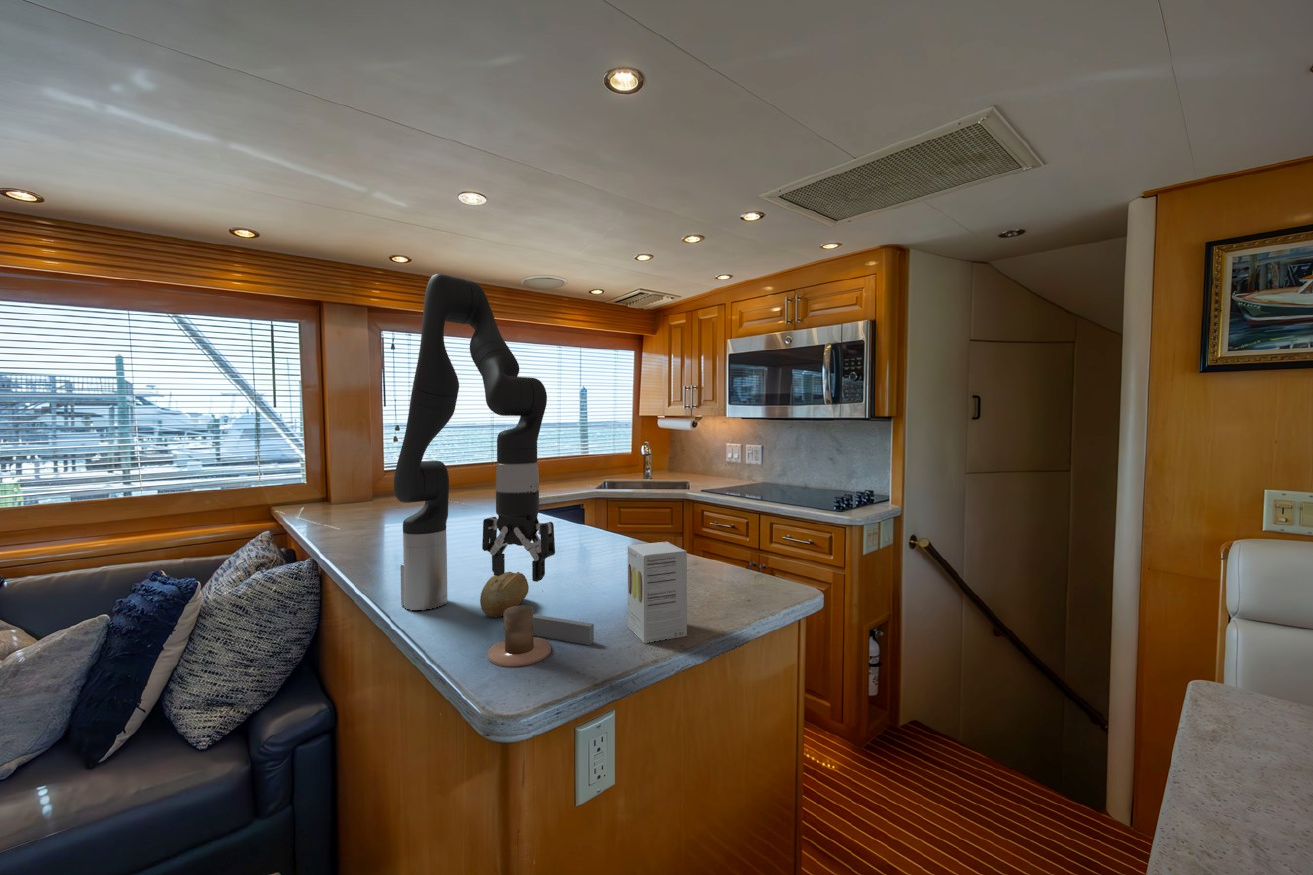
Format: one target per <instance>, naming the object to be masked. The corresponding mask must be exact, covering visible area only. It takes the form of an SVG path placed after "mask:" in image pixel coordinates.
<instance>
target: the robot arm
mask: <svg viewBox="0 0 1313 875" xmlns="http://www.w3.org/2000/svg"><path fill="white" fill-rule="evenodd" d="M446 322H448V323H455V324H461V325H468V326H470V327H472V328H473V330H474V332H473V334H472V336H471V339H470V341H469V353H470V357H471V359H472V362H473V363H474V365H475V367H476V368H477V370H478V372H479V373H480V375H481V378H482V383H483V386H484V395H485V396H484V397H485V403H486V405H487V407H488V408H489V410H490V411H491V412H492V413H494V414H496V415H497V416H498V415H499V416H502V417H504V416H505V417H519V421H518V422H517V424H516V426H515V427H512V428H508V429H504V430H502V431H500V432H499V433H498V434H497V438H496V471H495V514H496V515H497V516H498V518H497V517H496V516H492V517H488V518H484V519H483V521H482V542H481V543H482V545H481V546H482V550H483V551H484V552H488V553H489V554H490V555H491V571H492V573H493V576H494V575H495V576H500V575H502V574H504V573H505V570H506V569H505V567H506V566H505V558H506V557H505V555H506V554H505V553H504V552H505V550H506V549H507V547H508V546H510V545H516V546H519V547H524V549H525V551H527V552H529V555H530V556H531V557H532V559H533V560H532V561H531V562H532V563H531V565H532V566H531V570H532V572H531V574H532V575H531V578H532V581H533V582H536V583H537V582H540V581H542V580H543V578H544V577H545V575H546V568H545V567H546V558H549V557H552V556H554V555H555V554H556V544H555V527H554V526H555V525H554V523H553V522H552V521H549V522H547V521H546V522H539V519H538V515H539V513H540V474H539V466H538V439H539V435H540V431H541V426H542V423H543V418H544V415H545V413H546V408H547V403H548V394H547V390H546V387H545V385H544V384H543V381H541V380H539V379H538V378H535V377H526V376H519V373H520V365H519V362H518V359H517V358H516V357H515V355H514V354H513V352H512V350H511V349H510V348H509V346H508V345H507V343H506V341H505V339H504V338H503V336H502V334H501V332H500V330H499V327H498V324H497V321H496V318H495V316H494V313H493V311H492V306H491V305H490V302H489V300H488V297H487V295H486V293H485V291H484V289H483V287H481V285H480V284H478V283H477V282H475V281H472V280H468V279H465V278H460V277H456V276H451V275H449V274H448V275H446V274H443V273H435V274H433V275H432V276H431V277H430V278H429V280H428V282H427V285H426V289H425V294H424V301H423V314H422V324H421V337H420V344H419V349H418V351H419V352H418V357H417V363H416V368H415V374H414V378H413V384H412V388H411V394H410V401H409V407H408V408H409V410H408V415H407V421H406V422H407V423H406V428H405V432H404V437H403V441H402V445H401V448H400V452H399V454H398V459H397V463H396V467H395V471H394V477H393V491H394V495H395V498H396V499H397V500H398V502H400V503H405V504H407V503H408V504H411V503H420V502H424V505H423V507H421V508H420V509H419V510H418V511H416V512H415V513H414V514H412V515H410V516H407V517H406V518H405V519H404V520H403V522H402V545H403V546H402V547H403V552H402V553H403V557H402V558H403V563H402V564H400V569H399V570H400V600H401V601H400V606H401V605H404V606H403V607H405V608H406V609H405V608H404V609H405V610H407V609H410V610H409V611H412V610H422V611H427V610H426V609H430V610H433V609H432V608H434V609H437V608H436V607H438V608H440V607H439V606H441V607H442V605H443V606H445V605H447V603H448V598H449V597H448V553H447V552H448V549H447V548H448V547H447V545H448V544H447V540H448V539H447V521H448V517H449V498H450V497H449V493H450V476H449V471H448V468H447V466H446V464H445V463H444V462H442V461H440V460H423V458H424V454H425V453H426V451H427V449H428V447H429V446H430V444H431V442H432V441H433V440H434V439H435V438H436V436H437V435H438V434H440V432H441V431H442V430H443V429H444V427H445V426H446V425H447V424H448V423H449V421H450V420H451V419H452V417H453V416H454V414H455V411H456V405H457V400H458V395H459V390H460V389H459V388H460V381H459V377H458V375H457V371H456V369H455V367H454V365H453V363H452V361H451V359H450V356H449V355H448V354H449V353H448V351H447V349H446V345H445V336H444V335H445V334H444V332H445V325H446ZM498 532H499V534H497V533H498ZM537 533H538V534H537ZM497 535H498V536H497ZM539 535H540V537H539ZM444 604H445V605H444Z"/></svg>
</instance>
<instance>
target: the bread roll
mask: <svg viewBox="0 0 1313 875" xmlns="http://www.w3.org/2000/svg"><path fill="white" fill-rule="evenodd" d="M529 587H530V586H529V582H528V579H527V577H526V576H525V575H524V574H523V573H522V572H519V571H517V572H512V571H507V572H504V574H502V575H500V576H495V575H494V574H493V575H492V576H491V577H490V578H489V579H488V580H487V582H486V583H485V585H483V588H482V590H481V592H480V597H479V598H480V599H479V603H480V608H481V611H482V612H483V614H484V615H486V616H488V617H490V618H500V617H502V616H503V613H504V611H505V610H506V609H507V608H510V607H513V606H520V604H521V603H522V602H523V601H524V599H526V597H527V596H528V594H529Z"/></svg>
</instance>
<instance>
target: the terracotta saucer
mask: <svg viewBox="0 0 1313 875" xmlns="http://www.w3.org/2000/svg"><path fill="white" fill-rule="evenodd" d="M533 638H534V648H533V649H532V650H531V651H529V652H527V653H523V654H509V653H507V652H506V651H505V639H504V640H502V641H499V642H496V643H495V644H493V645H491V647H490V648H488V651H487V659H488V661H489V662H490V663H491V664H493V665H496V666H498V667H500V666H501V667H507V668H509V667H510V668H511V667H512V668H513V667H522V666H528V665H532V664H536V663H538V662H540V661H543V660H544V659H546V658H547V657H549V655H550V654H551V652H552V644H551V642H550V641H549V640H547V639H545V638H543V637H539V636H533Z"/></svg>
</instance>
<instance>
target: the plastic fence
mask: <svg viewBox="0 0 1313 875" xmlns="http://www.w3.org/2000/svg"><path fill="white" fill-rule="evenodd" d="M594 629H595V625H594V623H590V622H585V621H578V620H572V619H566V618H559V617H553V616H548V615H539V614H534V613H533V636H534V637H540V638H547V639H552V640H559V641H565V642H568V643H569V642H570V643H575V644H581V645H587V646H591V645H592V644H594V643H595V630H594ZM503 631H505V613H503Z"/></svg>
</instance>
